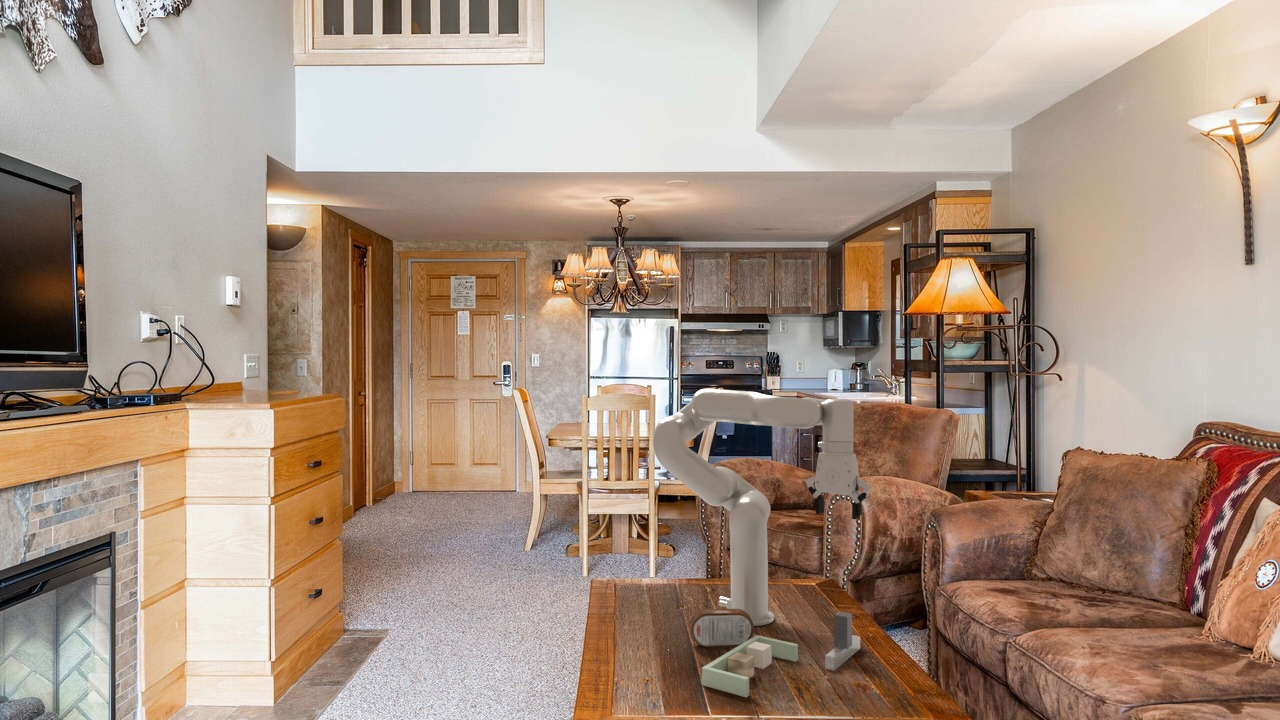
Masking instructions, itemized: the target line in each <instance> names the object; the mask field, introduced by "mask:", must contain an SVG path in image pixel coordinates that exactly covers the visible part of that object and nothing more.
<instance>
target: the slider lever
mask: <svg viewBox="0 0 1280 720" xmlns="http://www.w3.org/2000/svg"><path fill="white" fill-rule="evenodd" d="M833 633H834V634H833V635H834V637H833V638H834V639H833V640H834V641H833V642H834V643H833V644H834V646H833V647H834V648H833V649H831V650H830V651H829V652H828V653H827V654H825V655H824V665H825V666H824V668H825V670H829V671H833V672H834V671H836V670H837V669H838V668H839V667H841V666H842V665H843V664H844V663H845V662H846V661H848V660H849V659H850V658H851V657H853V655H854V654H855V653H857V652H858V651H860V649H861V636H860V635H854V634H853V613H851V612H845V611H839V610H838V611H837V612H836V613H834V615H833Z"/></svg>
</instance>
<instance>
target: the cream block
mask: <svg viewBox="0 0 1280 720" xmlns="http://www.w3.org/2000/svg"><path fill="white" fill-rule="evenodd" d="M747 655H751V656H754V668H756V669H757V668H758V669H762V670H765V668H767V667H768V666H770V665H771V664H773V663H772V660H773V659H772V657H773V656H772V645H768V644H764V643H759V642H754V643H752V644H750V645H749V646H747Z"/></svg>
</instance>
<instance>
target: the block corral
mask: <svg viewBox="0 0 1280 720" xmlns="http://www.w3.org/2000/svg"><path fill="white" fill-rule="evenodd" d="M754 642H759V643H764V644H768V645H772V657H774V658H777V659H783V660H787V661H791V662H798V660H799V645H798V643H795V642H790V641H785V640H780V639H776V638H772V637H767V636H763V635H758V634H757V635H754V636H752V638H751V639H749V640H748V641H746V642H744V643H743V644H741V645H739V646H737V647H733V649H731V650H729V651H727V652H726V653H724V654H723V655H721V656H719V657H717V658H716V659H714V660H712V661H711V662H708V664H706V665H704V666H702V667H701V686H704V687H707V688H712V689H715V690H719V691H722V692H725V693H729V694H733V695H736V696H740V697H744V698H748V697H749V696H750V678H749V677H745V676H741V675H737V674H734V673H730V672H728V658H729V657H731V656H732V655H734V654H735V653H737V652H738V653H742V654H747V646H749V645H750V644H752V643H754Z"/></svg>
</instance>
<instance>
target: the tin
mask: <svg viewBox="0 0 1280 720" xmlns="http://www.w3.org/2000/svg"><path fill="white" fill-rule="evenodd" d="M688 628H689V633H690V635H691V637H692V639H693V641H694V642H695V643H696V644H697V645H698V646H701V647H704V648H727V647H728V648H731V647H733V648H736V647H737V646H739V645H741V644H743V643H744V642H746V641H748V640H749V639H751V638H753V637H754V636H753V635H754V633H755V626H754V625H753V622H752V619H751V617H750V616H749V614H748V613H747V612H745V611H744V610H741V609H727V608H703V609H700V610H698V611H697V612H695V613H694V614H693V616H692V617H691V618H690V620H689V627H688Z"/></svg>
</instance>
